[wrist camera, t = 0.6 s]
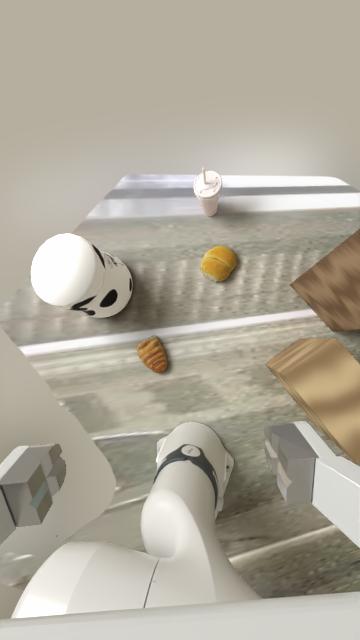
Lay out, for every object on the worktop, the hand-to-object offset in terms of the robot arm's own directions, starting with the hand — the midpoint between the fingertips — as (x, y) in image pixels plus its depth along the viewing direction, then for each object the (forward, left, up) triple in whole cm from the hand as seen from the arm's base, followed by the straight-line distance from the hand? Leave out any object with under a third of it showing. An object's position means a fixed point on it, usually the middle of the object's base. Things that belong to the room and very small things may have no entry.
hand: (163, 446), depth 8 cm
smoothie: (+38, +6, -46) cm, 60 cm away
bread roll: (+23, +2, -46) cm, 51 cm away
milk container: (+14, +32, -46) cm, 57 cm away
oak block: (-2, -21, -46) cm, 50 cm away
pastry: (-2, +15, -46) cm, 49 cm away
